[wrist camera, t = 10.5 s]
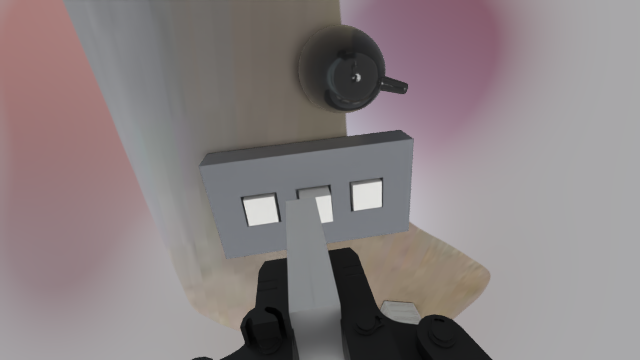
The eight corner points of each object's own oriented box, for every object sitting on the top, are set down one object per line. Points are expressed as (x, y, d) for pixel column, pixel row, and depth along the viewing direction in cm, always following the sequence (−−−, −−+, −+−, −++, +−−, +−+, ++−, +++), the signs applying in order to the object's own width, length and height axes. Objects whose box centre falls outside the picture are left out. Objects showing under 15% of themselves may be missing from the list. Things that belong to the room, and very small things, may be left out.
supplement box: (373, 323, 63) (393, 383, 52) (384, 299, 60) (408, 357, 49) (402, 325, 65) (428, 384, 53) (414, 302, 62) (444, 359, 50)
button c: (346, 173, 45) (352, 185, 41) (373, 170, 45) (381, 181, 41) (347, 197, 47) (353, 210, 43) (373, 193, 47) (381, 206, 43)
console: (207, 153, 42) (198, 166, 38) (400, 129, 44) (413, 138, 40) (231, 241, 49) (226, 260, 45) (397, 216, 51) (408, 232, 47)
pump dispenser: (358, 112, 42) (395, 141, 29) (290, 97, 40) (295, 122, 26) (378, 38, 38) (433, 32, 25) (304, 18, 36) (319, -1, 23)
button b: (297, 185, 43) (299, 199, 39) (326, 182, 43) (330, 195, 39) (301, 210, 44) (303, 225, 41) (328, 206, 45) (333, 221, 41)
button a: (246, 187, 44) (243, 200, 40) (274, 183, 44) (273, 196, 40) (251, 211, 46) (249, 226, 42) (278, 207, 46) (278, 221, 42)
